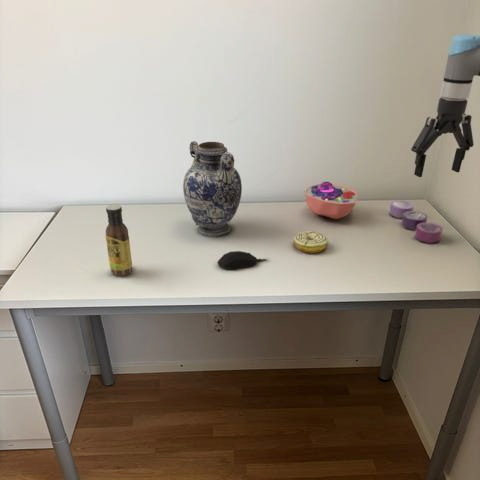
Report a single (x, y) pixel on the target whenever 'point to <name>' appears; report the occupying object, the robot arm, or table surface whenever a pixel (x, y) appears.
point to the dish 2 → (428, 232)
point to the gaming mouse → (237, 260)
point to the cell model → (330, 200)
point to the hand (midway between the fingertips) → (436, 173)
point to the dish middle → (413, 219)
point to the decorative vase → (212, 188)
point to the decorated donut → (310, 242)
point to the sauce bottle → (118, 242)
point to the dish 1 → (400, 208)
